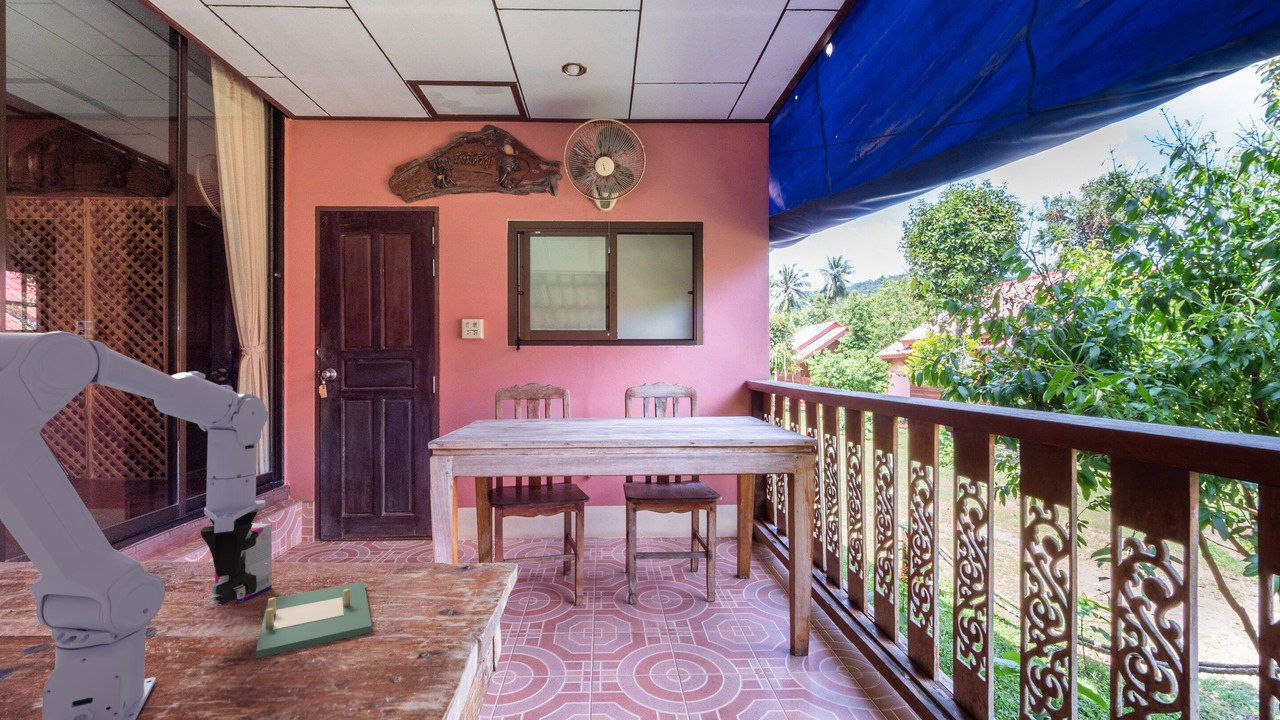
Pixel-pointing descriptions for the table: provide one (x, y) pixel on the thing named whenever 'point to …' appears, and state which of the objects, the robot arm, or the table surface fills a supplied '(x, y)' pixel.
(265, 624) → the board
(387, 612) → the table surface
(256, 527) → the supplement box
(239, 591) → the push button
